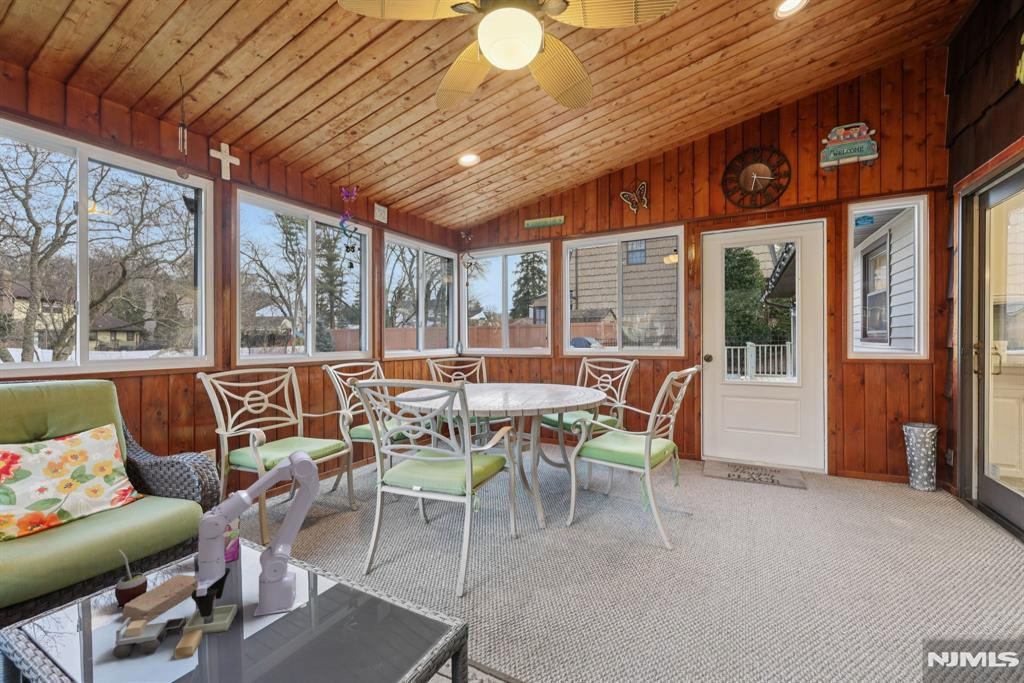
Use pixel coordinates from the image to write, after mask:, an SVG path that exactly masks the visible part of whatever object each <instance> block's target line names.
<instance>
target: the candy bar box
mask: <svg viewBox="0 0 1024 683" xmlns="http://www.w3.org/2000/svg"><path fill="white" fill-rule="evenodd" d="M200 518H201V517H198V522H199V521H200ZM240 522H241V515H240V516H238V517H237V518H236V519H235V520H233V521H232V522H231V523H229V524H227V525H226V527H225V530H224V532H223V536H224V559H225V564H227V563H232V562H234V561H237V560H239V558H240V525H241V523H240ZM199 536H200V533H199V532H198V537H199ZM199 542H200V540H199V539H198V544H197V545H198V548H197V550H198V551H197V554H198V555H197V566H198V567H199Z"/></svg>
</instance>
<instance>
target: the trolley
mask: <svg viewBox="0 0 1024 683" xmlns="http://www.w3.org/2000/svg"><path fill="white" fill-rule="evenodd" d="M165 623H166V622H156V623H150V624H149V623H147V620H139V621H132V622H131V617H130V618H127V619H126V620H125V621H124V620H123V622H122V623H121V625H119V627H118V628H117V629H116V630H115V636H116V637H115V639H116V640H115V643H114V644H115V648H113V651H112V655H113V657H114V658H115V659H119V660H120V659H121V660H122V659H125V658H126V657H128V656H129V654H130V653H131V652H132V651H133V649H134V648H133V647H135V646H136V645H138V643H143V644H142V645H141V646H140V651H141V653H142V654H144V655H148V656H149V655H152V654H154V653H155V652H156V651H157V649H159V647H160V645H161V643H162V641H164V640H165V638H167V636H166V635H167V629H166V628H164V627H165ZM124 628H125V630H124V631H123V629H124ZM122 631H123V632H122Z"/></svg>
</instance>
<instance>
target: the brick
mask: <svg viewBox="0 0 1024 683" xmlns="http://www.w3.org/2000/svg"><path fill="white" fill-rule="evenodd" d="M197 588H198V579H194V575H188V574H187V575H186V574H179V573H178V574H175V575H173V576H171V577H170V578H169V579H166V580H165V581H164V582H162V583H161V584H159V585H158V586H155V587H154V588H152V589H150V590H148V591H146V593H144V594H142V595H140V596H138V597H137V598H135V599H133V600H132V601H130V602H129V603H126V604H125V605H124V607H123V609H122V615H121V616H122V617H121V618H122V620H123V622H124V621H125V620H126V619H127V618H130V617H131V622H132V621H139V620H147V624H149V623H150V622H151V621H152V622H153V620H155V619H156V618H158V617H159V616H162V615H163V614H165V613H166V612H167V611H170V610H171V609H173V608H174V607H176V606H178V605H179V604H180V603H183V602H184V601H186V600H188V599H189V598H191V594H192V592H193V591H194V590H197Z"/></svg>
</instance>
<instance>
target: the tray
mask: <svg viewBox="0 0 1024 683" xmlns="http://www.w3.org/2000/svg"><path fill="white" fill-rule="evenodd" d="M237 613H238V604H237V603H236V604H228V605H227V604H226V605H220V606H214V621H213V622H212V623H210V624H204V617H201V615H200V612H199V609H198V608H197V609H195V610H194V612H193V613H192V615H191V616H190V618H189V619H188V620H187V621H186V625H185V626H184V628H183V629H182V637H183V636H184V634H185V632H190V631H197V630H202V635H206V634H214V633H220V632H225V631H226V632H227V631H228V630H229V629H230V626H231V625H232V623H233V620H234V619H235V617H236V614H237Z"/></svg>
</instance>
